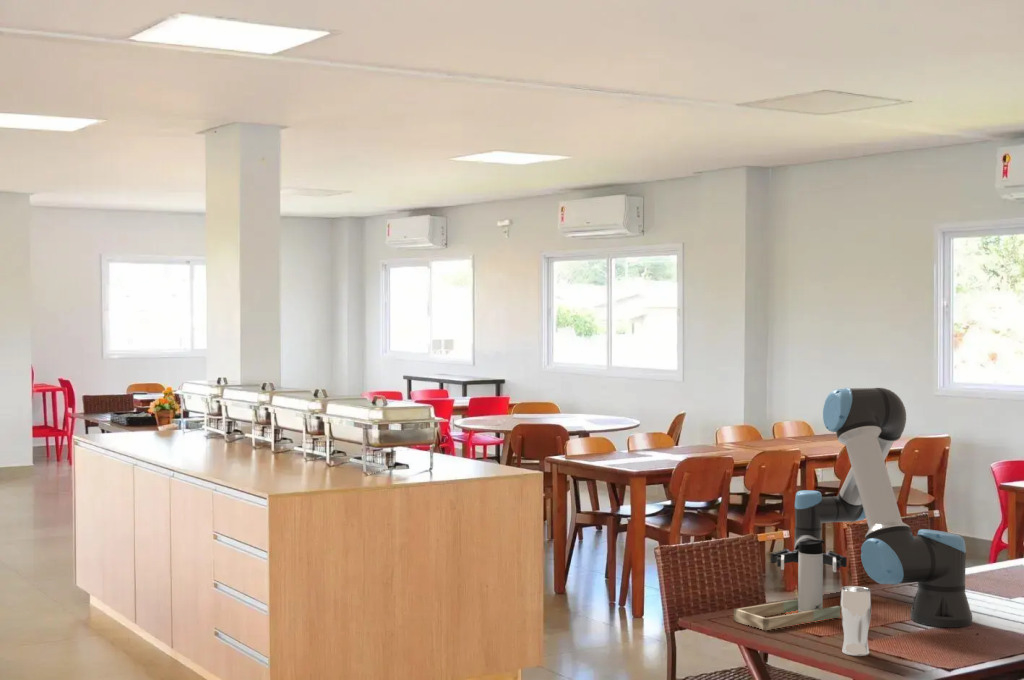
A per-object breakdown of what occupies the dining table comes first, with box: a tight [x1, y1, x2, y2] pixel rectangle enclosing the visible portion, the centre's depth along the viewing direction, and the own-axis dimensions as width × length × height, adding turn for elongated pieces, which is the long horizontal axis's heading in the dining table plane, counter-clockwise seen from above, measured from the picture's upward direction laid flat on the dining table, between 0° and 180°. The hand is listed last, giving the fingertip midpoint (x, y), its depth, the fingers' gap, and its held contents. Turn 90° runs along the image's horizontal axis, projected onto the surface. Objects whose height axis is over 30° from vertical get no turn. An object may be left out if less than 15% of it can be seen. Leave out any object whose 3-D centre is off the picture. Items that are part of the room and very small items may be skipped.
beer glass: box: [839, 585, 872, 657], centre depth 273 cm, size 7×7×15 cm
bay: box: [733, 598, 841, 631], centre depth 303 cm, size 12×26×3 cm, turn 120°
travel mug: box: [797, 539, 825, 612], centre depth 307 cm, size 6×7×20 cm
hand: (808, 565), depth 311 cm, fingers open, 13 cm apart
